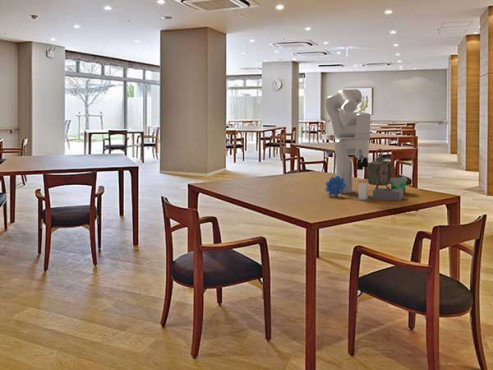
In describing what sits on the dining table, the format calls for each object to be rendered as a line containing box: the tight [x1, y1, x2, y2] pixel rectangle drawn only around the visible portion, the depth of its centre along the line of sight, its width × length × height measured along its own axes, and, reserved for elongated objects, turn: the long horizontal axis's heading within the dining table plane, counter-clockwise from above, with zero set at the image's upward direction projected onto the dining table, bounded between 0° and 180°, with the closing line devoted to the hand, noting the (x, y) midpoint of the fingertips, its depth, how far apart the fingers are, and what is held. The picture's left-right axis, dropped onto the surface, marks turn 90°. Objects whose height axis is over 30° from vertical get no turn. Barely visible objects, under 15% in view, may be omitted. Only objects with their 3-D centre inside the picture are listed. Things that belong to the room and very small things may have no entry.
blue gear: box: [325, 176, 346, 197], centre depth 280 cm, size 12×7×12 cm, turn 68°
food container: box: [390, 175, 408, 195], centre depth 279 cm, size 12×6×10 cm, turn 130°
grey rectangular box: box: [372, 187, 404, 202], centre depth 265 cm, size 14×10×5 cm
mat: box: [351, 196, 374, 202], centre depth 266 cm, size 10×10×1 cm
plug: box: [357, 178, 369, 200], centre depth 265 cm, size 4×4×10 cm
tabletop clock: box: [366, 148, 394, 190], centre depth 294 cm, size 14×9×25 cm, turn 129°
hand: (362, 168), depth 264 cm, fingers open, 9 cm apart
